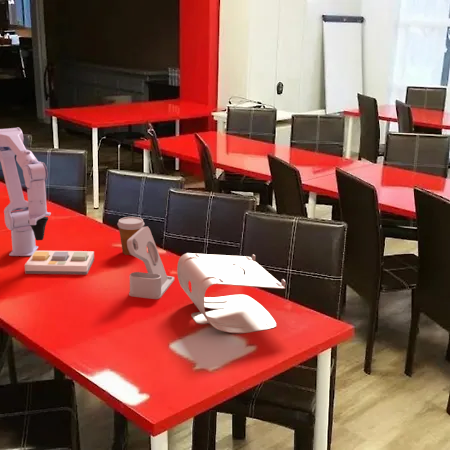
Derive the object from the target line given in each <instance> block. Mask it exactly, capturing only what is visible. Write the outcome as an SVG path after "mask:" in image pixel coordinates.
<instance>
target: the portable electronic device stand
mask: <svg viewBox="0 0 450 450" xmlns="http://www.w3.org/2000/svg"><path fill="white" fill-rule="evenodd" d="M176 272H177V273H176V274H177V279H178V282H179V285H180V288H181V289H183V291H184V293H185V294H186V295H187V296H188V297H189V300H191V302H192V303H194V304H193V305H194V306H195V307H196V308H197V309H198V310H199V312H192V313H191V314H190V315H191V318H192V320H193V321H194V322H195V323H196V324H198V325H207V324H210V325H211V326H212V327H213V328H214V329H216V330H218V331H221V332H225V333H230V334H248V333H254V332H261V331H266V330H273V329H275V328H276V327H277V322H276V320H275V318H274V317H273V316H272V315H271V313H270V312H269V310H267V309H266V308H265V307H264V306H263V305H262V304H261V303H259V302H258V301H257V300H255V299H254V298H252V297H251V296H249V295H247V294H230V295H224V296H215V297H211V296H209V297H208V296H207V297H206V296H205V295H206V291H207V290H208V288H209V287H211V286H213V285H214V286H215V285H223V286H237V287H238V286H240V287H253V288H266V289H279V290H281V289H284V290H285V289H286V280H285V279H284V278H282V279H281V280H280V281H281V282H280V281H279V280H278V279H277V278H275V277H274V276H273V275H272V274H271V273H269V271H267V270H266V269H265V268H264V267H263V266H262V265H260V264H259V263H258V262H257V261H256V255H255V254H251V256H247V255H246V256H245V255H244V256H243V255H226V254H207V253H192V252H186V253H184V254H182V255H181V256H179V259H178V261H177V270H176ZM189 282H190V286H191V289H190V287H189ZM206 309H208V310H206ZM209 309H210V310H209Z"/></svg>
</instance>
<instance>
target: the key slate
mask: <svg viewBox="0 0 450 450" xmlns="http://www.w3.org/2000/svg"><path fill="white" fill-rule="evenodd" d="M67 259H68V252H55V253H54V254H53V256H52V261H67Z"/></svg>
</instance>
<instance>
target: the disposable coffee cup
mask: <svg viewBox="0 0 450 450" xmlns="http://www.w3.org/2000/svg"><path fill="white" fill-rule="evenodd" d="M117 227H118V230H119V236H120V237H119V238H120V243H121V248H122V249H121V250H122V254H124V255H127V256H132V255H131V254H130V252H129V250H128V247H127V240H128V239H129V238H130V237H132V236H133V235H134V234H135V233H136V232H137V231H138V230H140V229H141V228H142V227H145V222H144V219H143V218H141V217H137V216H127V217H126V216H125V217H122V218H120V219H118V222H117Z"/></svg>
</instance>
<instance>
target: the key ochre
mask: <svg viewBox="0 0 450 450" xmlns="http://www.w3.org/2000/svg"><path fill="white" fill-rule="evenodd" d="M37 251H38V250H36V252H35V253H34V254H33V256H32V260H43V261H47V260H48V258H49V252H37Z"/></svg>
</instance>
